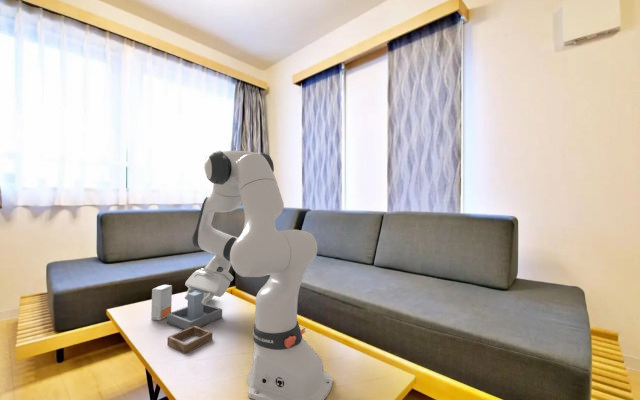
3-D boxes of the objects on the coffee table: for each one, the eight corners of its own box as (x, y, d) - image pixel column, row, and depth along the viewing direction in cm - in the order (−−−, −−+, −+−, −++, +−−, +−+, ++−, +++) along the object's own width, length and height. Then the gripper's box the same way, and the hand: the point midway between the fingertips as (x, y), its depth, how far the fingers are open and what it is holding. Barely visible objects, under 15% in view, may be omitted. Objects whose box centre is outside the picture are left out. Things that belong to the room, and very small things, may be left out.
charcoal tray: (222, 317, 107) (222, 309, 107) (190, 332, 95) (190, 322, 95) (199, 310, 114) (199, 302, 114) (166, 323, 102) (167, 313, 102)
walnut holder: (212, 339, 91) (212, 332, 91) (185, 353, 82) (185, 345, 82) (194, 332, 95) (194, 325, 95) (167, 344, 87) (167, 337, 87)
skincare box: (160, 320, 104) (160, 289, 104) (150, 319, 105) (151, 288, 105) (171, 314, 110) (172, 285, 110) (162, 313, 111) (163, 284, 111)
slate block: (203, 318, 106) (203, 292, 106) (193, 322, 102) (194, 295, 102) (196, 315, 108) (197, 290, 108) (187, 319, 104) (187, 293, 104)
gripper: (195, 263, 116) (172, 292, 108) (228, 270, 106) (206, 303, 97) (203, 271, 120) (182, 300, 111) (236, 278, 110) (216, 311, 101)
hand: (194, 301), depth 104 cm, fingers open, 8 cm apart
